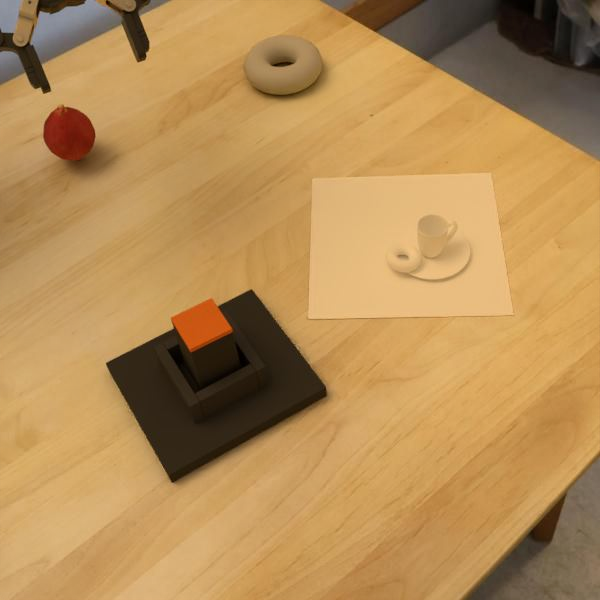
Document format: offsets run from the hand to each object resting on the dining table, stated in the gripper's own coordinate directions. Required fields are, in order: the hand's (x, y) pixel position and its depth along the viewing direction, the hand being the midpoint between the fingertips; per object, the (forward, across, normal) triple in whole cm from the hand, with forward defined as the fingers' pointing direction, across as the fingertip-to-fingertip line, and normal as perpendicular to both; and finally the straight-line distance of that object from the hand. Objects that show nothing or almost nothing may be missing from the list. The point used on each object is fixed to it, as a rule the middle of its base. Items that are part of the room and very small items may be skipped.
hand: (95, 75), depth 73 cm
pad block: (+28, 0, +2) cm, 29 cm away
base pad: (+30, 0, +4) cm, 30 cm away
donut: (+2, +26, +31) cm, 40 cm away
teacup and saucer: (+25, +24, +8) cm, 36 cm away
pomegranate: (+3, -2, +30) cm, 30 cm away
